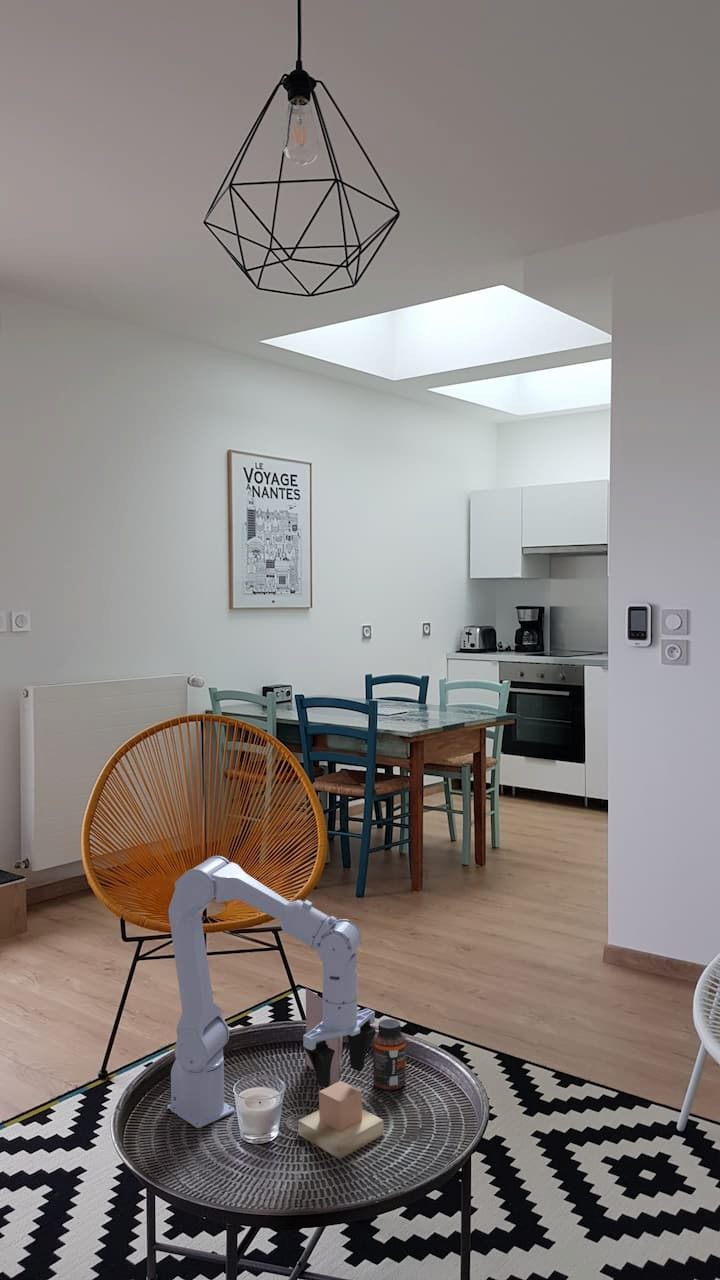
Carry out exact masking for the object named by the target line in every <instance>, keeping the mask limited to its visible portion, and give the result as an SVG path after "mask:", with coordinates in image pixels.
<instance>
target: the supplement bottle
mask: <svg viewBox="0 0 720 1280" xmlns="http://www.w3.org/2000/svg"><path fill="white" fill-rule="evenodd" d="M377 1029H378V1031H377V1032H376V1035H375V1036H374V1038H373V1039H372V1043H373V1044H372V1045H373V1046H372V1047H373V1048H372V1049H373V1050H372V1051H373V1052H372V1053H373V1055H372V1057H373V1058H372V1059H373V1061H372V1064H373V1065H372V1067H373V1068H372V1069H373V1073H372V1074H373V1075H372V1076H373V1077H372V1078H373V1083H374V1085H375V1086H376V1087H377V1088H378V1089H381V1090H386V1091H395V1090H399V1089H401V1088H402V1086H403V1085H404V1086H405V1085H406V1079H407V1078H406V1077H407V1075H406V1073H407V1072H406V1069H407V1067H406V1061H407V1060H406V1059H407V1058H406V1054H407V1052H406V1050H407V1049H406V1047H407V1045H406V1041H407V1040H406V1036H405V1034H404V1032H403V1033H402V1032H401V1022H400V1021H399V1020H397V1019H392V1018H387V1019H382V1020H380V1021H379V1022H378V1027H377ZM404 1086H403V1087H404Z"/></svg>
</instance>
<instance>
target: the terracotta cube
mask: <svg viewBox="0 0 720 1280" xmlns="http://www.w3.org/2000/svg"><path fill="white" fill-rule="evenodd" d="M362 1095H363V1093H362V1089H359V1088H357V1087H355V1086H352V1085H350V1083H349V1084H348V1083H346V1082H344V1081H343V1080H340V1081H339V1082H337V1083H335V1084H333V1085H331V1084H330V1085H329V1087H327V1088H323V1089H321V1090H319V1091H318V1105H319V1106H318V1107H319V1108H318V1110H319V1120H320V1121H321V1122H322V1123H324V1124H326V1125H328V1126H330V1127H332V1128H334V1129H336V1130H338V1131H340V1132H341V1131H343V1130H345V1129H347V1128H349V1127H350V1126H352V1125H354V1124H356V1123H358V1122H359V1121H361V1120H362V1109H363V1099H362V1097H363V1096H362Z"/></svg>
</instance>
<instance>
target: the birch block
mask: <svg viewBox="0 0 720 1280" xmlns="http://www.w3.org/2000/svg"><path fill="white" fill-rule="evenodd" d="M297 1122H298V1123H297V1124H298V1125H297V1126H298V1128H297V1130H298V1131H297V1132H298V1133H297V1134H298V1136H299V1137H302V1138H303V1139H305V1140H306V1141H308V1142H310V1143H312V1144H313V1145H315V1146H317V1147H318V1148H320V1149H323V1150H324V1151H325V1152H327V1153H329V1154H330V1155H332V1156H333V1157H336V1158H338V1159H339V1160H340V1159H343V1158H344V1157H346V1156H348V1155H350V1154H351V1153H353V1152H355V1151H356V1150H359V1149H360V1148H362V1147H364V1146H366V1145H368V1144H369V1143H370V1142H371V1143H372V1142H373V1141H374V1140H376V1139H378V1138H380V1137H382V1136H383V1135H384V1119H382V1118H381V1117H378V1116H377V1115H376V1114H375V1115H374V1114H372V1113H371V1112H369V1111H367V1110H365V1109H363V1108H362V1120H361V1121H359V1122H358V1123H356V1124H354V1125H352V1126H350V1127H349V1128H347V1129H345V1130H343V1131H341V1132H340V1131H338V1130H336V1129H334V1128H332V1127H330V1126H328V1125H326V1124H324V1123H322V1122H321V1121H320V1120H319V1109H318V1110H316V1111H314V1112H312V1113H310V1114H308V1115H306V1116H304V1117H302V1118H299V1119H298V1120H297Z"/></svg>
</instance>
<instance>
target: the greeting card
mask: <svg viewBox="0 0 720 1280" xmlns="http://www.w3.org/2000/svg"><path fill="white" fill-rule="evenodd" d="M322 1021H323V997H320V996H319V995H317V994H316V993H315V992H313V991H311V989H310V990H309V989H308V988H306V987H305V1034H307V1033H309V1032H310V1031H311V1030H313V1029H314V1028H315V1027H316V1026H317V1025H318V1024H320V1023H321V1022H322ZM326 1045H328V1048H330V1049H333V1050H334V1051H335V1052H334V1055H333V1058H332V1062H331V1069H330V1084H329V1085H330V1086H331V1085H333V1084H335V1083H337V1082H339V1081H341V1069H342V1068H341V1067H342V1054H343V1048H344V1047H343V1046H344V1036H340V1037H335V1038H333V1039H331V1040H329V1041H326ZM305 1053H306V1066H307V1065H308V1066H309V1067H308V1066H307V1067H308V1068H309V1069H311V1070H312V1069H313V1070H314V1068H313V1065H312V1062H311V1060H310V1058H309V1056H308V1054H307V1052H306V1051H305Z"/></svg>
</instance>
